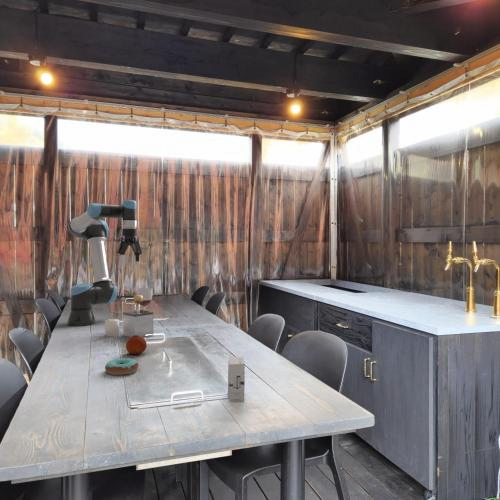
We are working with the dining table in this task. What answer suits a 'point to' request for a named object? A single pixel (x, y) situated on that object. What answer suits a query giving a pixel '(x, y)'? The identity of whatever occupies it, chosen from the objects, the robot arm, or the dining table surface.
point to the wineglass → (145, 295)
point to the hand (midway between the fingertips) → (129, 266)
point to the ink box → (236, 379)
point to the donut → (121, 366)
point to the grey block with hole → (137, 323)
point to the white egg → (111, 327)
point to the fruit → (136, 345)
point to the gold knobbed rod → (138, 301)
